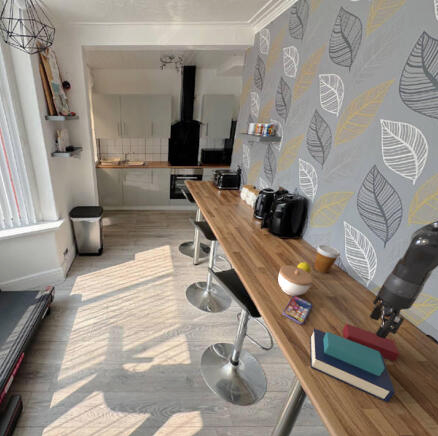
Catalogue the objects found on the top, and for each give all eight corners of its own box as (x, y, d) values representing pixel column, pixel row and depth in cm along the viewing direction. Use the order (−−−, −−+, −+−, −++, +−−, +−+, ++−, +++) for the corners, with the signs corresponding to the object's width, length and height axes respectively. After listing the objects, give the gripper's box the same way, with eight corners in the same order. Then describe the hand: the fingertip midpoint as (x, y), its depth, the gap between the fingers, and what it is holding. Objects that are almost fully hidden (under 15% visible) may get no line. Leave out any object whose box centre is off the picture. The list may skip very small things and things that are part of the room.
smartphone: (312, 305, 97) (302, 325, 88) (293, 296, 102) (281, 314, 92) (313, 304, 97) (303, 324, 87) (294, 294, 102) (282, 312, 92)
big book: (376, 364, 75) (382, 354, 73) (387, 402, 65) (395, 392, 63) (309, 337, 83) (314, 328, 81) (310, 367, 73) (315, 358, 71)
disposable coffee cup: (306, 265, 124) (313, 245, 120) (319, 262, 127) (326, 243, 122) (323, 276, 116) (331, 255, 111) (336, 273, 119) (345, 253, 114)
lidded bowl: (284, 300, 100) (292, 279, 95) (269, 281, 111) (275, 261, 107) (313, 300, 100) (322, 279, 96) (295, 281, 112) (302, 262, 107)
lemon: (296, 271, 119) (301, 258, 116) (309, 276, 115) (314, 263, 112) (292, 275, 116) (297, 262, 113) (305, 281, 112) (310, 267, 109)
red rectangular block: (389, 347, 81) (394, 340, 79) (394, 361, 76) (399, 354, 74) (342, 330, 87) (346, 323, 85) (344, 342, 82) (348, 335, 80)
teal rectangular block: (374, 359, 71) (379, 351, 70) (379, 376, 67) (384, 368, 65) (323, 339, 77) (326, 331, 76) (324, 353, 73) (328, 345, 71)
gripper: (427, 309, 64) (398, 349, 71) (409, 280, 75) (385, 318, 82) (391, 297, 67) (366, 337, 74) (378, 272, 78) (358, 308, 85)
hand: (376, 327), depth 78 cm, fingers open, 8 cm apart
